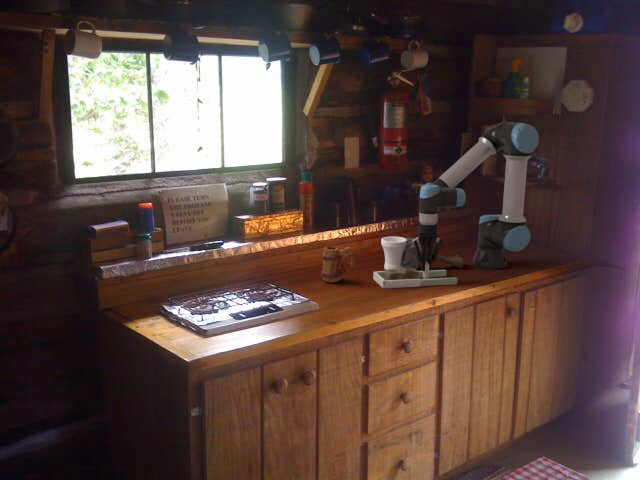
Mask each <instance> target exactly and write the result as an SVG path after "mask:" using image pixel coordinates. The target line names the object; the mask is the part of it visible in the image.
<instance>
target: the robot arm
mask: <svg viewBox="0 0 640 480" xmlns="http://www.w3.org/2000/svg"><path fill="white" fill-rule="evenodd" d="M539 141H540V138H539V132H538V131H537V129H536V128H535V127H534V126H533V125H531V124H527V123H524V122H517V121H516V122H514V121H513V122H512V121H508V120H507V121H506V120H505V121H502V122H499V123H496V124H495V125H494V126H492V127H491V128H489V129H487V131H485V132H484V133H483V134H482V135H481V136H480V137H479V138H478V142H477V143H476V144H474V146H472V147H471V148H470V149H469V150H468V151H467V152H466V153H464V155H462V156H461V157H460V158H459V159H458V160H457V161H456V162H454V164H453V165H451V166H450V167H449V168H448V169H447V170H446V171H444V173H443V174H441V175H440V176H439V177H438V178H437V179H436V180H435V181H433V182H428V183H425V184H422V185H421V187H420V191H419V192H420V193H419V212H418V215H419V216H418V233H417V237H416V238H412V239H413V240H412V242H413V244H414V247H415V252H416V257H417V261H418V263H419V264H421V265H420V266H421V267H420V269H421V270H420V271H423V278H422V279H430V277H429V271H430V270H432V264H433V263H434V262H435V263H436V262H437V261H436V258H437V255H438V254H439V251H440V247H441V245H442V243H443V239H442V238H440V237H438V235H439V234H437V232H438V221H439V209H443V208H457V207H463V206H464V205H465V203H466V199H467V195H466V192H465V190H464V189H463V188H456V186H457V185H459V183H461V182H462V181H463V180H464V179H465V178H466V177H468V175H470V174H471V173H472V172H473V171H474V170H475V169H477V168H478V167H479V165H481V164H482V163H483V162H484V161H485V160H486V159H488V158H489V157H490V156H492V155H495V154H497V152H499V151H501V150H502V152H503V153H502V155H503V157H504V158H505V161H506V162H505V171H504V172H505V174H504V185H503V186H504V187H503V189H504V190H503V198H502V199H503V200H502V213H501V214H484V215H481V216H480V217H479V222H478V237H477V238H478V239H477V249H476V250H475V253H474V255H473V258H472V265H473V266H475V267H478V268H481V269H488V270H499V269H501V270H502V269H505V268H507V265H508V260H507V257H506V252H505V250H506V251H510V252H513V253H514V252H515V253H516V252H521V251H522V250H524V249H525V248H526V247H527V246H528V245H529V243H530V241H531V231H530V229H529V228H528V227H527V219H526V218H525V216H524V208H525V193H526V182H527V173H528V172H527V171H528V160H529V159H530V158H531V157H533V156H532V155H533V152H534V151H536V149H537V147H538V145H539V143H540V142H539ZM418 243H419V244H420V245H421V246H422V251H421V254H420V249H419V245H418ZM426 253H427V261H426Z"/></svg>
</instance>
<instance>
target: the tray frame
mask: <svg viewBox="0 0 640 480" xmlns="http://www.w3.org/2000/svg"><path fill="white" fill-rule="evenodd" d="M372 279H373V280H374V281H375V282H376V283H377V284H378V285H379V286H380V287H381V288H382V289H397V288H398V289H400V288H418V287H421V286H420V279H421V278H418V279H405V280H385V270H381V271H380V270H379V271H373V273H372Z"/></svg>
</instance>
